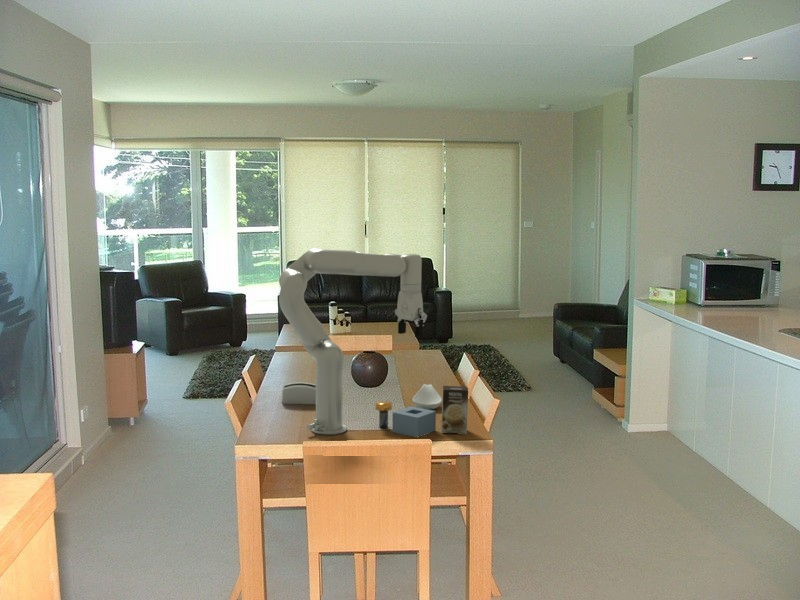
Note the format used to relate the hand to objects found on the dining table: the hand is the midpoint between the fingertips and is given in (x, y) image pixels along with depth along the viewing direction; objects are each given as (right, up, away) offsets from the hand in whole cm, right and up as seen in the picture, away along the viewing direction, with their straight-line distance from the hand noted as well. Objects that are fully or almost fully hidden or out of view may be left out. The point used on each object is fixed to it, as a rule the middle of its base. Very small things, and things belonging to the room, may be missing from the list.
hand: (410, 335), depth 282 cm
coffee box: (+16, -35, -5) cm, 38 cm away
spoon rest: (+7, -30, +33) cm, 45 cm away
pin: (-10, -34, -1) cm, 35 cm away
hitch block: (+1, -34, -5) cm, 35 cm away
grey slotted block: (-43, -29, +32) cm, 61 cm away
